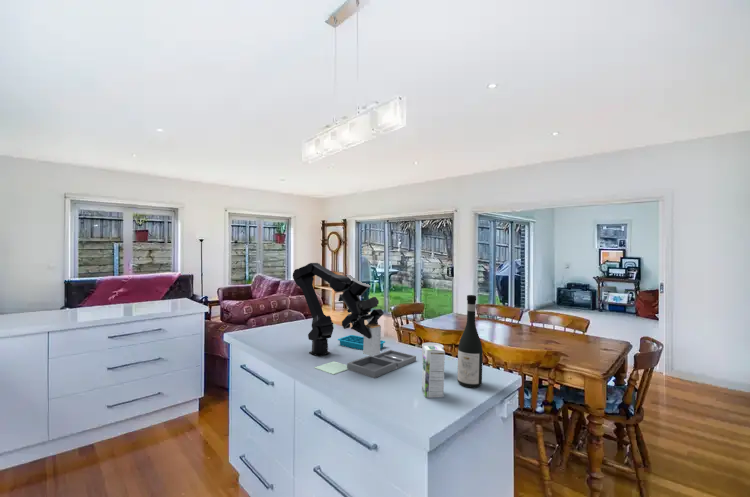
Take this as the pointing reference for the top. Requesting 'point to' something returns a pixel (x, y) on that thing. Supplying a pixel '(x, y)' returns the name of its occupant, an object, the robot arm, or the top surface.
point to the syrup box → (433, 371)
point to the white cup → (430, 344)
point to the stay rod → (393, 358)
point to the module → (372, 340)
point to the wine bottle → (470, 350)
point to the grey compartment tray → (380, 363)
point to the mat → (332, 367)
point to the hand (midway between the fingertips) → (375, 336)
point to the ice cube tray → (355, 342)
